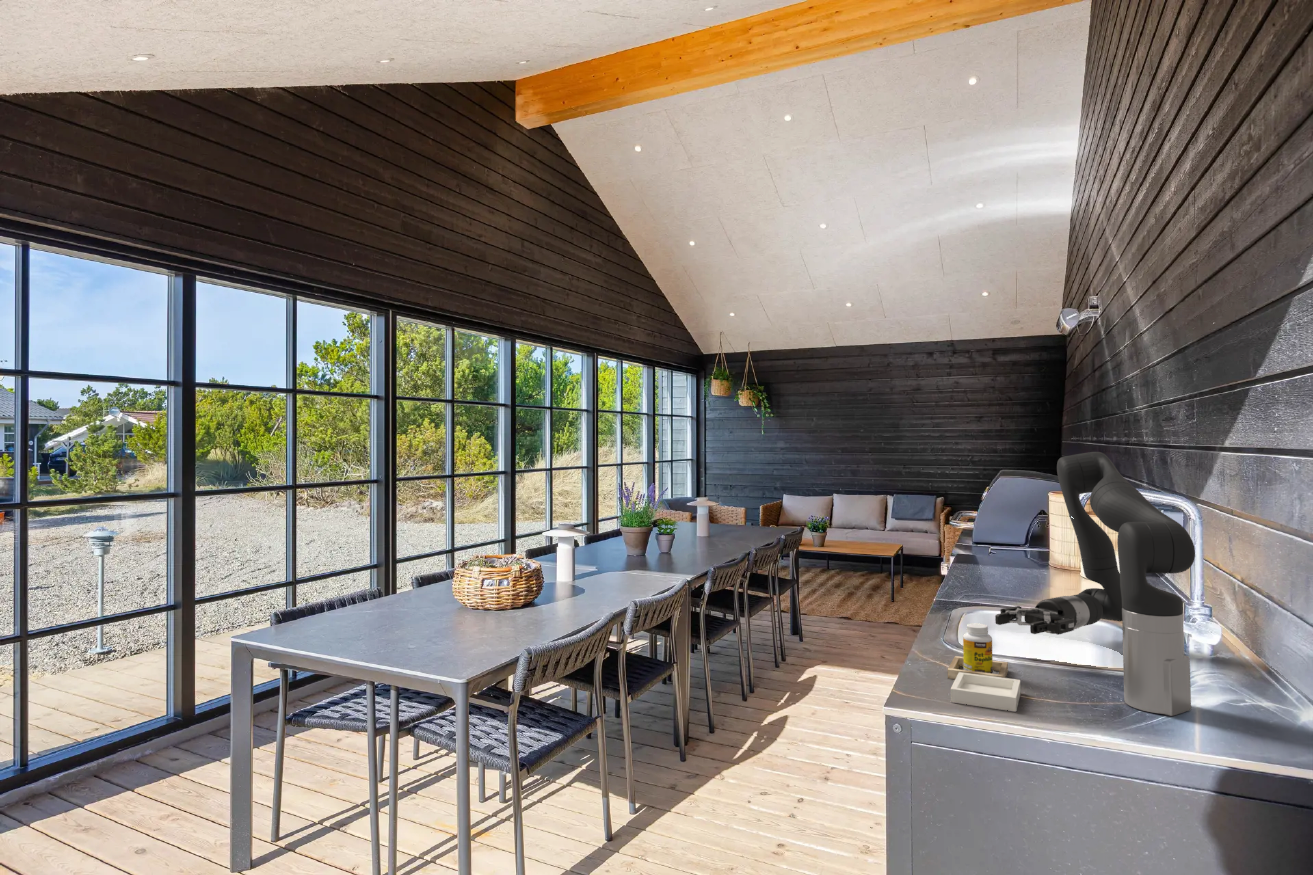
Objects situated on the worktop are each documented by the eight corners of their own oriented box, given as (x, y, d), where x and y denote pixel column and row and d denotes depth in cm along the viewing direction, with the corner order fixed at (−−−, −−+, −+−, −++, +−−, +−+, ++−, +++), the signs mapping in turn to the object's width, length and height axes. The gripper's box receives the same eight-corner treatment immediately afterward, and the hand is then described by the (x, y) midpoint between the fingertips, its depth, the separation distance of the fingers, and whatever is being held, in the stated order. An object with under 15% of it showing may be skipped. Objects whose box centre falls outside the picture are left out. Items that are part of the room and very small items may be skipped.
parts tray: (1020, 692, 142) (1020, 679, 142) (1016, 711, 132) (1015, 697, 132) (959, 684, 147) (959, 671, 147) (950, 702, 138) (950, 688, 138)
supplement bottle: (973, 679, 150) (972, 629, 150) (958, 671, 156) (957, 622, 156) (998, 677, 151) (997, 627, 151) (983, 669, 156) (982, 621, 156)
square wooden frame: (1008, 670, 155) (1007, 662, 155) (1003, 685, 146) (1003, 676, 146) (955, 664, 160) (955, 655, 160) (947, 678, 151) (947, 669, 151)
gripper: (1033, 591, 173) (985, 600, 165) (1092, 603, 160) (1044, 613, 152) (1033, 623, 173) (986, 633, 165) (1093, 638, 160) (1044, 650, 153)
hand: (1013, 624), depth 159 cm, fingers open, 8 cm apart
